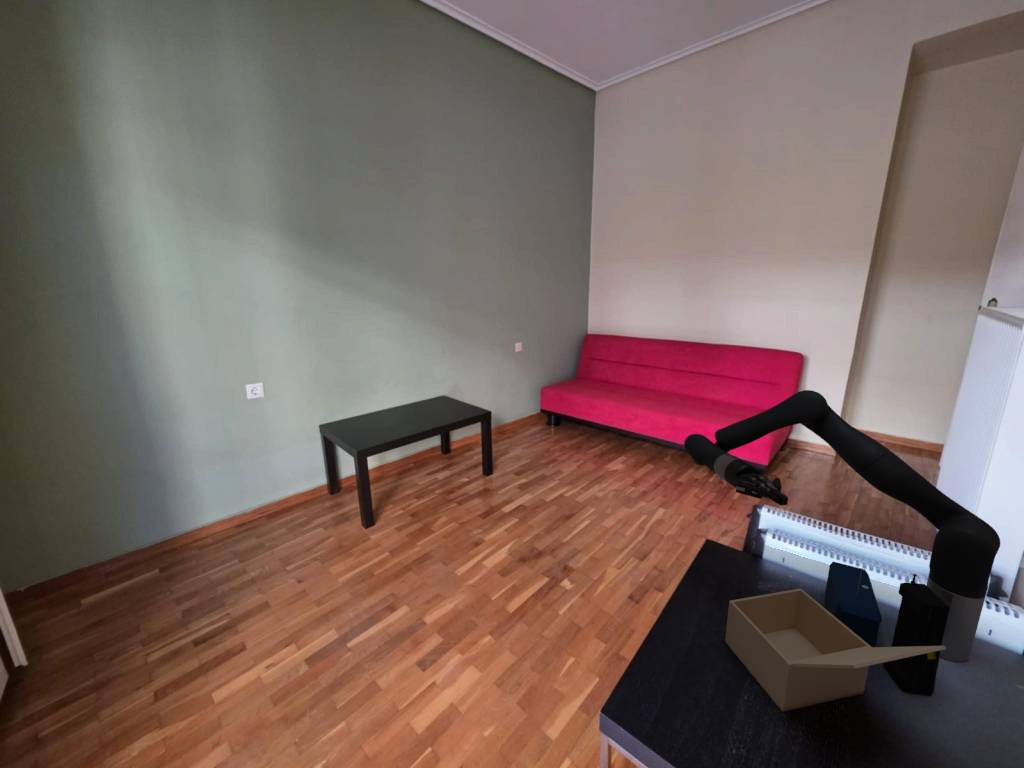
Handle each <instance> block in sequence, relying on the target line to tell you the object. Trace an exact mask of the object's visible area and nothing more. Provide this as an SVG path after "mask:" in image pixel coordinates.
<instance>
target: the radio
mask: <svg viewBox="0 0 1024 768" xmlns="http://www.w3.org/2000/svg"><path fill="white" fill-rule="evenodd" d="M827 573H828V575H827V580H826V587H825V591H824V593H825V594H824V597H825V602H826V603H825V604H826V610H827V611H829V612H830V613H831V614H832V615H833V616H835V617H836V618H837V619H838V620H840V621H841V622H842V623H843V624H844V625H846V626H847V627H848V628H849V629H850V630H852V631H853V632H854V633H855V634H857V635H858V636H859V637H860V638H861V639H863V640H864V641H865V642H866V643H867V644H869V645H870V646H871V647H876V644H877V640H878V634H879V630H880V625H881V624H882V621H883V619H882V613H881V610H880V608H879V607H880V606H879V604H878V601H877V598H876V594H875V591H874V589H873V584H872V583H871V582H872V581H871V579H870V575H869V573H868V571H866V569H864V568H860V567H856V566H852V565H848V564H846V563H845V564H844V563H841V562H837V561H832V562H831V563H830V564H829V569H828V572H827Z"/></svg>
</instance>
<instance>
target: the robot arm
mask: <svg viewBox="0 0 1024 768" xmlns="http://www.w3.org/2000/svg"><path fill="white" fill-rule="evenodd" d="M799 424H800V425H802V426H803V427H804V428H807V430H809V431H811V432H812V433H814V434H815V435H816V436H818V437H819V438H820V439H822V440H823V441H824V442H825V443H827V444H828V445H829V446H830V447H831V448H832V450H834V452H835V453H836V454H837V455H838V456H839V457H840V458H841V459H842V461H844V462H845V463H846V464H847V466H849V467H850V468H851V469H852V470H853V471H854V472H856V474H858V475H859V476H860V477H861V478H862V479H863V480H865V481H866V482H867V483H868V484H869V485H870V486H872V487H873V488H875V489H876V490H877V491H879V492H881V493H883V494H884V495H887V496H888V497H890V498H892V499H894V500H897V501H899V502H900V503H903V504H904V505H907V506H908V507H910V508H912V509H913V510H914V511H916V512H917V513H919V515H921V516H922V517H923V518H925V519H926V520H927V521H928V522H930V524H932V525H933V526H934V527H935V528H936V529H937V530H938V531H937V533H936V535H935V537H934V541H933V544H932V549H931V555H930V560H929V565H928V567H929V571H928V572H929V573H928V578H927V582H926V584H925V585H926V586H928V587H929V588H930V589H931V590H932V591H933V592H934V593H935V594H936V595H937V596H938V597H939V598H940V599H942V600H943V601H944V602H945V603H946V604H947V605H948V606H949V607H950V610H949V614H948V619H947V623H946V627H945V632H944V636H943V641H942V645H941V646H945V648H946V649H944V650H940V658H942V659H944V660H945V659H946V660H947V661H952V662H956V663H957V662H960V663H961V662H962V663H963V662H967V661H968V660H969V659H970V654H971V651H972V647H973V644H974V640H975V637H976V633H977V629H978V625H979V622H980V618H981V615H982V611H983V607H984V603H985V600H986V596H987V592H988V589H989V582H990V581H989V580H990V577H991V573H992V569H993V567H994V566H993V564H994V561H995V558H996V556H997V554H998V552H999V550H1000V547H1001V539H1000V536H999V534H998V532H997V530H995V529H994V528H993V527H992V525H990V524H989V523H988V522H986V521H985V520H983V519H982V518H980V517H979V516H977V515H976V514H975V513H973V512H971V511H970V510H969V509H967V508H966V507H964V506H963V505H961V504H960V503H957V502H956V500H955V501H954V500H953V499H951V498H950V497H949V496H947V495H946V494H945V493H944V492H942V491H941V490H940V489H939V488H937V487H936V486H934V484H932V483H931V482H930V481H929V480H927V478H925V477H924V476H923V475H922V474H920V473H919V472H917V471H916V470H915V469H914V468H912V467H911V466H910V465H909V464H908V463H907V462H905V461H904V460H903V459H902V458H900V457H899V456H898V455H897V454H896V453H894V452H893V451H891V450H890V449H889V448H887V447H886V446H885V445H883V443H881V442H878V440H876V439H874V438H873V437H871V436H870V435H868V434H866V433H864V432H862V431H860V430H859V429H857V428H855V427H853V426H852V425H851V424H849V422H847V421H845V420H844V419H843V417H841V416H840V415H839V414H838V413H837V412H836V411H835V410H833V408H832V407H831V406H830V405H829V404H828V402H827V399H826V397H824V395H822V394H821V393H820V392H818V391H816V390H810V389H809V390H807V389H805V390H799V391H797V392H795V393H793V395H791V396H789V397H787V398H786V399H784V400H782V401H781V402H779V403H777V404H775V405H773V406H772V407H769V408H767V409H766V410H764V411H762V412H759V413H757V414H754V415H752V416H750V417H747V418H745V419H742V420H739V421H736V422H734V423H731V424H729V425H727V426H724V427H722V428H720V429H718V430H716V431H715V432H714V439H715V442H713V441H712V440H711V439H709V438H708V437H707V436H705V435H703V434H701V433H693V434H689V435H688V436H687V437H686V438H685V439H684V442H683V446H684V449H685V451H686V452H687V454H688V455H689V456H690V457H691V458H692V460H693V462H694V463H695V464H697V465H698V466H705V467H706V468H707V469H708V470H710V471H712V473H714V474H716V475H718V477H719V478H720V479H722V480H723V481H725V482H727V484H730V486H733V487H734V488H735V493H738V494H742V495H743V496H744V495H745V496H749V497H752V498H756V499H760V500H761V499H763V498H765V499H767V500H771V501H772V502H774V503H775V504H777V505H779V506H787V505H788V501H789V497H788V496H787V495H785V494H783V493H782V488H783V487H782V482H781V481H782V480H781V479H780V478H779V477H774V479H770V478H769V477H767V476H765V475H763V474H760V472H759V470H758V468H757V467H756V466H754V465H752V464H751V463H749V462H747V461H745V460H743V459H741V458H739V457H738V456H736V455H734V454H731V453H730V452H731V451H733V450H735V449H737V448H741V447H744V446H746V445H748V444H751V443H754V442H755V441H757V440H759V439H762V438H763V437H765V436H767V435H770V434H771V433H773V432H776V431H778V430H781V429H783V428H786V427H790V426H794V425H799Z"/></svg>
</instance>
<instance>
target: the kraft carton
mask: <svg viewBox="0 0 1024 768" xmlns="http://www.w3.org/2000/svg"><path fill="white" fill-rule="evenodd" d="M727 609H728V610H727V619H726V621H727V622H726V630H725V631H726V632H725V640H724V642H725V643H726V645H728V647H729V648H730V649H731V651H732V652H733V653H734V655H736V657H737V658H738V659H739V661H740V662H741V664H742V665H744V667H745V668H746V669H747V670H748V671H749V673H750V674H751V675H752V677H753V678H754V679H755V680H756V681H757V683H759V684H760V687H762V688H763V690H764V691H765V692H766V693H767V695H768V696H769V697H770V698H771V700H772V701H773V702H774V703H775V704H776V706H777V707H778V708H779V709H780V711H781V712H782V713H783V712H787V711H792V710H796V709H801V708H805V707H810V706H813V705H814V706H815V705H818V704H819V705H820V704H823V703H827V701H828V702H832V701H836V699H837V700H840V698H841V699H845V698H844V697H846V698H849V697H854V696H859V695H863V694H864V692H865V687H866V683H867V677H868V671H869V669H870V668H869V667H870V665H869V666H865V667H860V668H823V667H793V665H792V664H793V663H797V662H802V661H807V660H812V659H817V658H822V657H827V656H831V655H836V654H841V653H846V652H851V651H856V650H861V649H865V648H870V647H871V646H870V645H869V644H867V643H866V642H865V641H864V640H863V639H861V638H860V637H859V636H858V635H857V634H855V633H854V632H853V631H852V630H850V629H849V628H848V627H847V626H846V625H844V624H843V623H842V622H841V621H840V620H838V619H837V618H836V617H835V616H833V615H832V614H831V613H830V612H829V611H827V608H825V607H824V606H823V605H821V603H819V602H818V601H817V600H815V599H814V597H811V596H810V594H808V593H807V592H806V591H805V590H803V589H802V588H796V589H795V588H794V589H790V590H783V591H777V592H774V593H767V594H760V595H756V596H755V595H754V596H749V597H743V598H739V599H737V598H736V599H732V600H729V602H728V608H727Z"/></svg>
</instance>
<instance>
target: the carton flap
mask: <svg viewBox="0 0 1024 768" xmlns="http://www.w3.org/2000/svg"><path fill="white" fill-rule="evenodd" d="M944 649H946V648H945V646H909V647H891V646H880V647H879V646H878V647H877V646H875V647H870V648H865V649H861V650H856V651H851V652H846V653H841V654H836V655H831V656H827V657H822V658H817V659H812V660H807V661H802V662H797V663H793V664H792V665H793V667H823V668H860V667H865V666H869V667H870V666H874V665H877V664H878V665H879V664H882V663H883V664H884V662H888V661H893V660H897V659H902V658H907V657H911V656H916V655H921V654H925V653H930V652H935V651H939V650H944Z"/></svg>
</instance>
